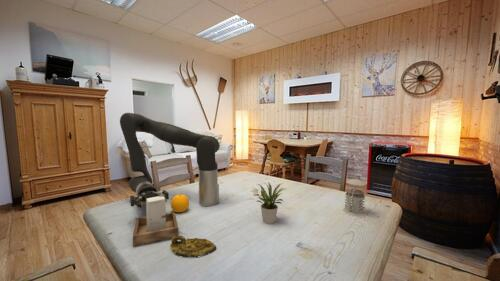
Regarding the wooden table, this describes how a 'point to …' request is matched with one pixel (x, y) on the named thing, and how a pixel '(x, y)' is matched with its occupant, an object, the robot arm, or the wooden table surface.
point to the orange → (179, 203)
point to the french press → (355, 198)
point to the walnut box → (154, 236)
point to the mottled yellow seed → (191, 247)
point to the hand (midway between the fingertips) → (152, 203)
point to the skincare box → (156, 213)
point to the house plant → (269, 203)
